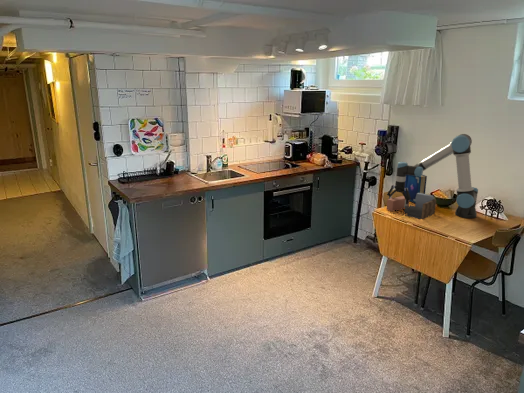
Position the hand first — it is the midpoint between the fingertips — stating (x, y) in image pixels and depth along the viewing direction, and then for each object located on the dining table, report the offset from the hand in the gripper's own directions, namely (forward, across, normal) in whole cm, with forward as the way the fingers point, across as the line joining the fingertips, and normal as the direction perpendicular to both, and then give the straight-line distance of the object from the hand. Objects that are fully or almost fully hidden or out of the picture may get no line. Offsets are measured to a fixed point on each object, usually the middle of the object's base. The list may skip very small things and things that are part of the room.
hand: (397, 205), depth 327 cm
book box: (+2, 0, 0) cm, 2 cm away
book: (+2, -2, +30) cm, 30 cm away
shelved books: (+2, +19, +7) cm, 21 cm away
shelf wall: (+2, +26, -1) cm, 26 cm away
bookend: (+2, +18, -9) cm, 20 cm away
